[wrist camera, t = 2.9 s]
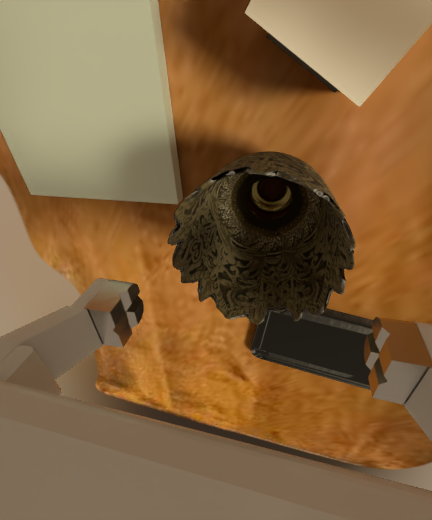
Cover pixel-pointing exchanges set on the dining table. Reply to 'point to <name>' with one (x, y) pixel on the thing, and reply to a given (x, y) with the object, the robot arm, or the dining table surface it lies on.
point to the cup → (263, 239)
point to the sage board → (88, 99)
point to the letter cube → (344, 37)
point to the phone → (316, 344)
